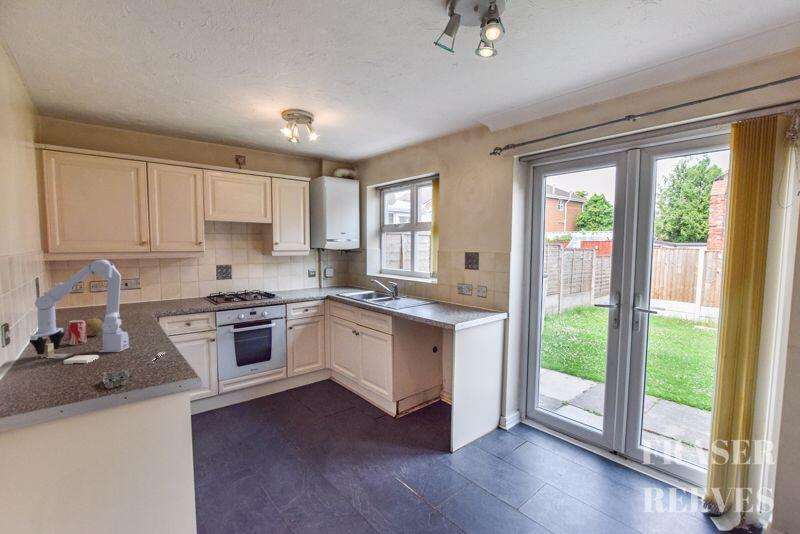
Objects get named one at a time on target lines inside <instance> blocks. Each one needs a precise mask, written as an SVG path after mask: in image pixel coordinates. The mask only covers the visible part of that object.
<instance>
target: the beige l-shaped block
mask: <svg viewBox="0 0 800 534" xmlns="http://www.w3.org/2000/svg"><path fill="white" fill-rule="evenodd" d="M73 354H74V353H55V349H54V344H53V343H51V342H46V344H45V352H44V354H40V358H41V359H44V358H43V357H46V358H54V359H66V358H67V357H70V356H71V357H72V356H74V355H73ZM46 358H45V359H46Z"/></svg>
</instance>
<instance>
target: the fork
mask: <svg viewBox="0 0 800 534" xmlns="http://www.w3.org/2000/svg"><path fill="white" fill-rule="evenodd" d="M165 353H166V351H159V352H158V353H157V355H158V356H159V355H160V356H161V354H164V355H165ZM157 355H156V356H157ZM155 359H156V358H155V357H154V358H153V359H152V360H151V361H153V360H155Z"/></svg>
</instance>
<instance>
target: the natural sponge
mask: <svg viewBox="0 0 800 534" xmlns="http://www.w3.org/2000/svg"><path fill="white" fill-rule="evenodd" d="M84 322H85V323H86V332H87V336H89V337H95V336H97V335H98V334H99V333H102V332H103V330H102V324H103V322H104V321H102V320H101V319H99V318H96V317H92V318H88V319H87V320H84Z"/></svg>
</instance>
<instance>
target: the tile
mask: <svg viewBox="0 0 800 534" xmlns="http://www.w3.org/2000/svg"><path fill="white" fill-rule="evenodd" d="M95 359H96V360H98V359H100V357H99V354H85V355H84V354H82V355H79V354H78V355H77V354H76V355H73V356H71V357H69V358H67V359H66V358H65V359H63V365H74V364H73V363H87V364H89V363H92V362H94V361H96V360H95ZM93 360H94V361H93ZM88 362H89V363H88Z"/></svg>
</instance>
